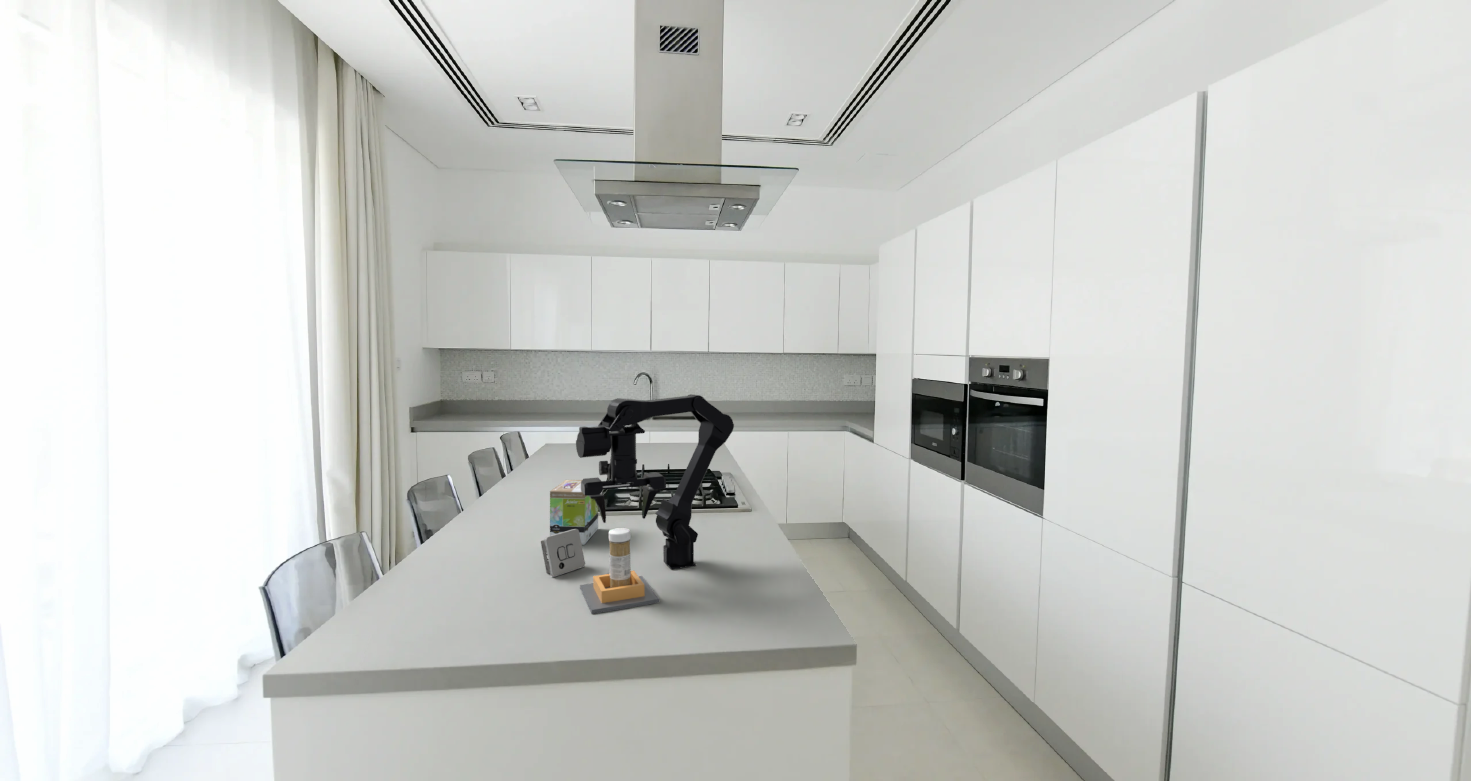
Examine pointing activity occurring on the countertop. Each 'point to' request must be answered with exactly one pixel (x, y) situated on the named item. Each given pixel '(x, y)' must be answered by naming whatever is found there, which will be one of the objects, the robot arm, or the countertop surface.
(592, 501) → the tea box
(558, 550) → the electrical switch
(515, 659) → the countertop surface
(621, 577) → the sprinkles bottle
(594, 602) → the socket
